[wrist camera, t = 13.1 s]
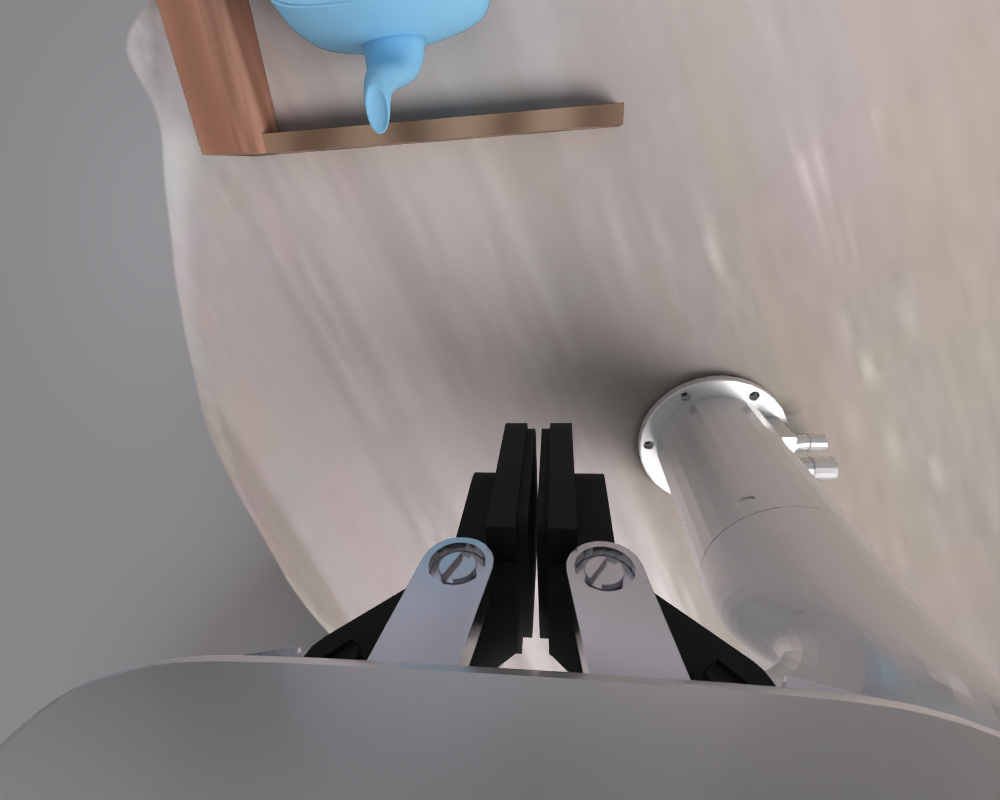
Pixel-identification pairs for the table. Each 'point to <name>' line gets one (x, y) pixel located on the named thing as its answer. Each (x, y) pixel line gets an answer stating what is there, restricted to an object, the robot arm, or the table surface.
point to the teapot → (381, 37)
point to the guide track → (254, 132)
